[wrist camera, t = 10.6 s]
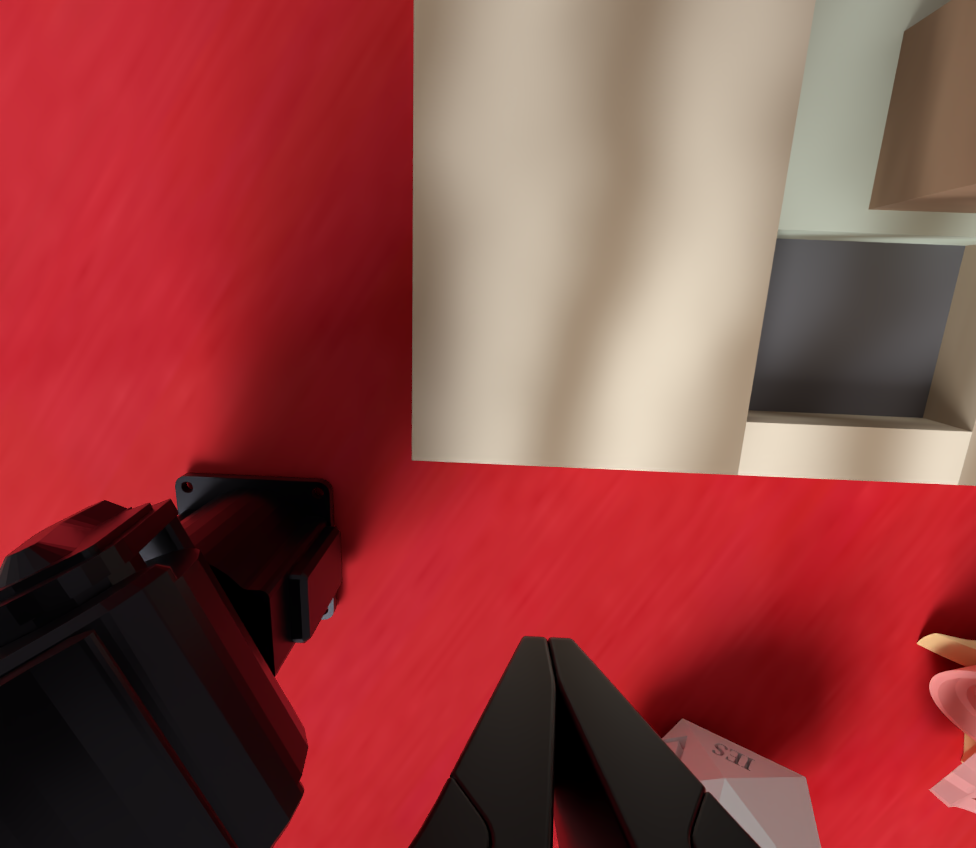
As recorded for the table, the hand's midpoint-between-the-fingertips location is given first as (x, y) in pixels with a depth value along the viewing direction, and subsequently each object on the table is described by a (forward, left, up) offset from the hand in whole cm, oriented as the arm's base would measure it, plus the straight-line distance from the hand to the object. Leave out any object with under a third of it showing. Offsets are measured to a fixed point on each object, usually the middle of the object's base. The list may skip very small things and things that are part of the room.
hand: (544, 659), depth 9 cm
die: (+9, -16, -13) cm, 23 cm away
